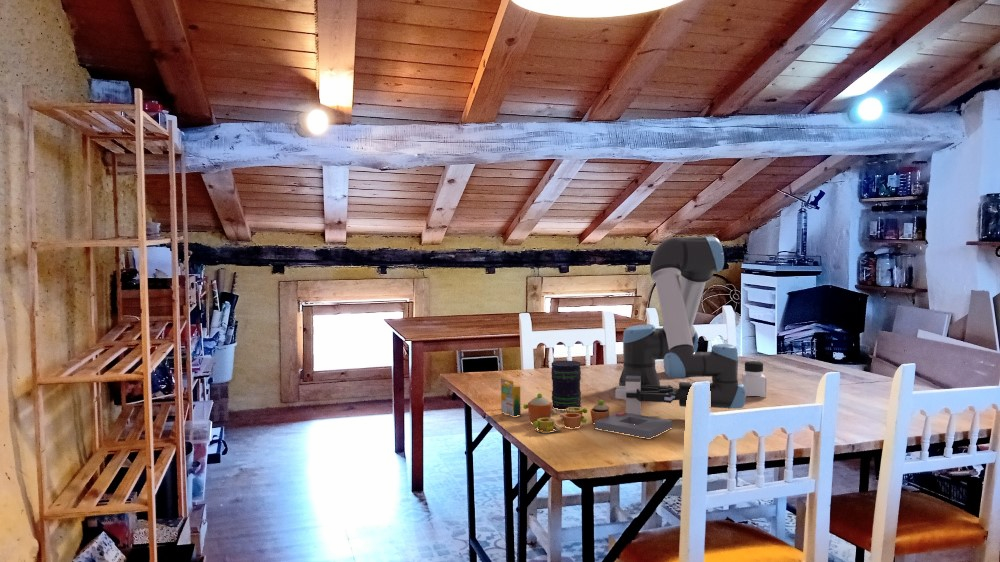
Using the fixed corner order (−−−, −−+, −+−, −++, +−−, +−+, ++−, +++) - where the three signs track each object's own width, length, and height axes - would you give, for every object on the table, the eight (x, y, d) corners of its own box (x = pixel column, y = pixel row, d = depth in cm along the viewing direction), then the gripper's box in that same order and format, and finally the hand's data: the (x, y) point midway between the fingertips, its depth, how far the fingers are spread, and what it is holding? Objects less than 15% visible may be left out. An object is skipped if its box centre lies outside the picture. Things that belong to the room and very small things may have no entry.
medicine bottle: (766, 397, 237) (766, 363, 237) (744, 397, 239) (744, 363, 238) (762, 393, 244) (762, 359, 244) (741, 392, 246) (741, 359, 245)
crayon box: (521, 416, 219) (520, 380, 218) (513, 418, 217) (512, 381, 216) (508, 412, 225) (508, 377, 224) (501, 413, 223) (500, 378, 223)
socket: (594, 429, 202) (594, 419, 202) (619, 419, 213) (619, 409, 213) (649, 440, 191) (649, 429, 190) (672, 429, 201) (672, 418, 201)
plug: (625, 416, 216) (625, 378, 215) (626, 412, 220) (626, 375, 219) (640, 416, 215) (640, 378, 214) (640, 413, 219) (640, 375, 218)
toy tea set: (538, 437, 197) (537, 403, 197) (517, 423, 212) (517, 392, 211) (617, 426, 206) (617, 394, 206) (593, 414, 221) (592, 384, 220)
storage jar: (546, 405, 232) (546, 362, 231) (572, 402, 236) (571, 359, 235) (560, 412, 223) (560, 366, 222) (586, 408, 227) (586, 364, 226)
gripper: (693, 413, 205) (614, 410, 210) (691, 399, 222) (618, 397, 227) (693, 388, 204) (613, 386, 210) (691, 377, 221) (617, 374, 227)
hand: (616, 392), depth 218 cm, fingers closed on plug, 4 cm apart
